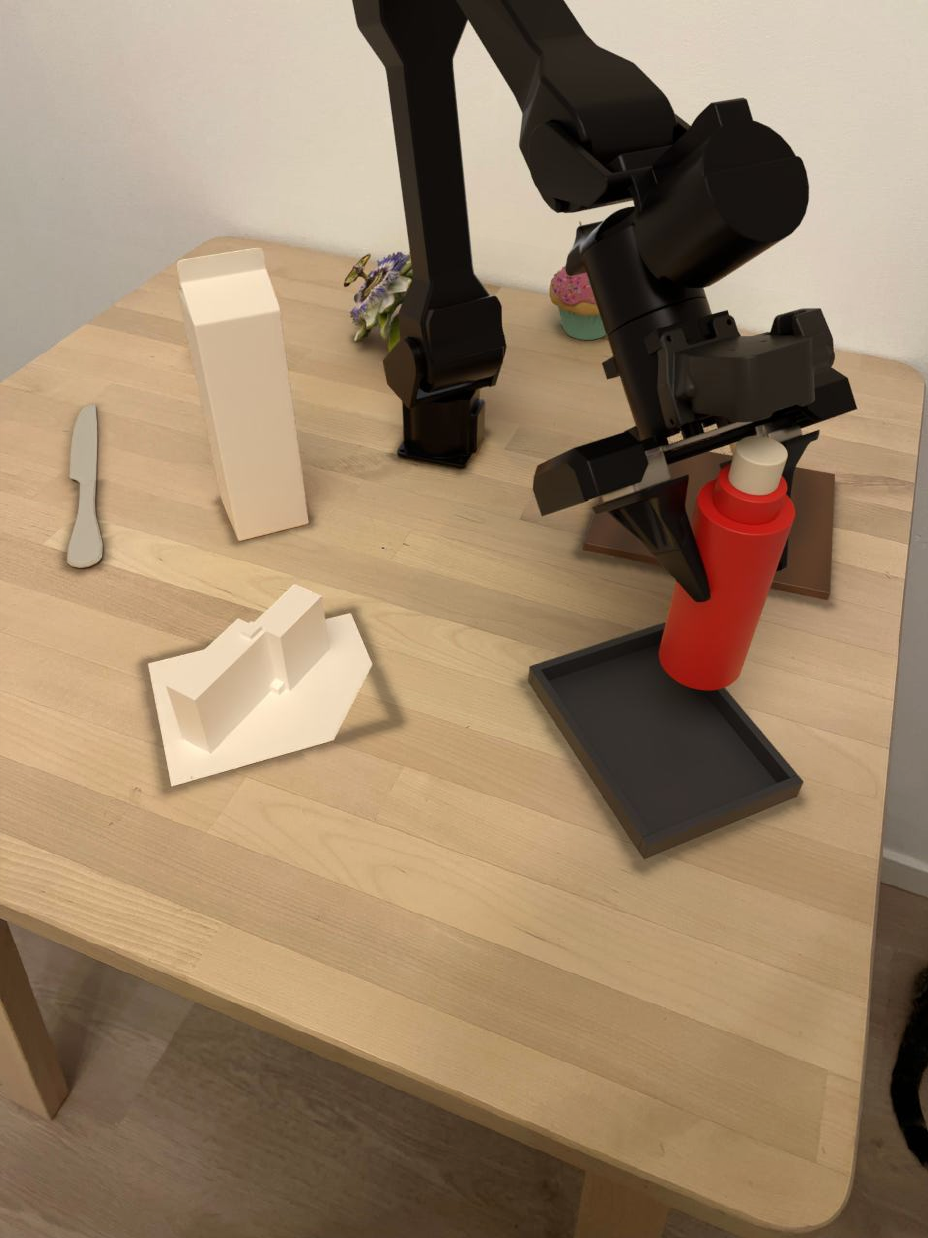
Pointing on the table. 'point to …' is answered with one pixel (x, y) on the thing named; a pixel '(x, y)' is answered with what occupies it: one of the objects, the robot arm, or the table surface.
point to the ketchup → (730, 566)
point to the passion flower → (380, 295)
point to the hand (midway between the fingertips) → (741, 585)
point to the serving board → (806, 535)
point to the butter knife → (85, 491)
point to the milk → (244, 389)
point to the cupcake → (576, 305)
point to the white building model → (259, 688)
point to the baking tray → (660, 742)
